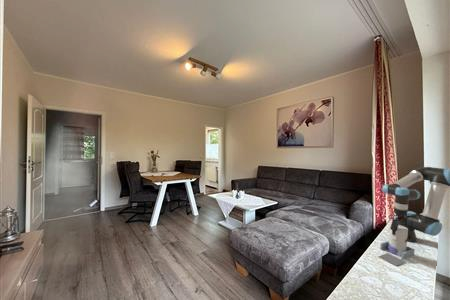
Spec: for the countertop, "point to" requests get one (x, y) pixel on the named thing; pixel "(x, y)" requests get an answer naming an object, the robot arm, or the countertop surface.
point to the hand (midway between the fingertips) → (398, 237)
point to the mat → (392, 259)
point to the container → (398, 241)
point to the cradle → (405, 255)
